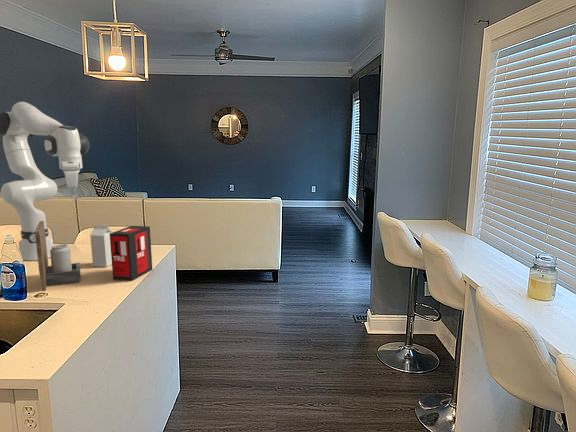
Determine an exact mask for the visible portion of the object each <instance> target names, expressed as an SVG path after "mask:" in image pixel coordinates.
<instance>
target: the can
mask: <svg viewBox="0 0 576 432" xmlns="http://www.w3.org/2000/svg"><path fill="white" fill-rule="evenodd" d="M50 255H51V257H50V263H51V264H50V265H51V266H52V273H58V272H66V271H72V264H73V263H72V256H71V248H70V247H69V244H65V243H64V244H63V243H61V244H53V246H52V249H51V250H50Z"/></svg>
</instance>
